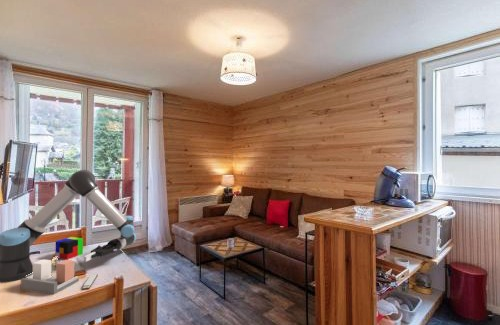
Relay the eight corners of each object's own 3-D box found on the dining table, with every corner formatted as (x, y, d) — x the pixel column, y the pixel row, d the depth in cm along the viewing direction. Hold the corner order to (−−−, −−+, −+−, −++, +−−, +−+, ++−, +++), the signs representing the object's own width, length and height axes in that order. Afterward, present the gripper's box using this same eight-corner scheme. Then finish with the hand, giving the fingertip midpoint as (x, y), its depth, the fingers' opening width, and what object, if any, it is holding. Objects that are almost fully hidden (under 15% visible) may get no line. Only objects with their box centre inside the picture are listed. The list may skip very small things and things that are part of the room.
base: (48, 277, 130) (48, 267, 130) (78, 281, 126) (78, 271, 126) (20, 289, 117) (21, 279, 117) (53, 294, 113) (54, 283, 113)
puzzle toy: (55, 257, 156) (55, 241, 156) (71, 252, 165) (71, 236, 165) (67, 259, 153) (67, 243, 153) (82, 254, 162) (83, 238, 162)
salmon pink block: (66, 277, 127) (67, 259, 126) (75, 278, 126) (75, 260, 126) (56, 282, 121) (56, 263, 121) (64, 283, 120) (65, 264, 120)
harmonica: (90, 277, 132) (91, 273, 132) (97, 276, 133) (97, 272, 133) (81, 291, 118) (81, 286, 118) (89, 290, 119) (89, 286, 119)
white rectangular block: (44, 276, 126) (44, 258, 126) (52, 277, 125) (52, 259, 125) (32, 281, 121) (32, 263, 121) (41, 283, 120) (41, 264, 120)
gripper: (125, 251, 156) (95, 267, 133) (107, 249, 159) (74, 264, 135) (125, 239, 156) (95, 252, 133) (107, 237, 159) (74, 250, 135)
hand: (85, 258), depth 134 cm, fingers closed
